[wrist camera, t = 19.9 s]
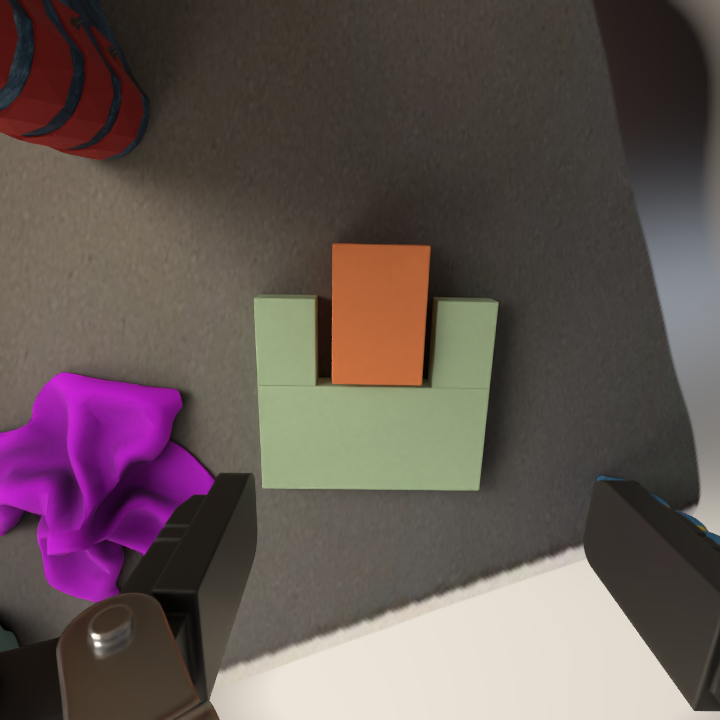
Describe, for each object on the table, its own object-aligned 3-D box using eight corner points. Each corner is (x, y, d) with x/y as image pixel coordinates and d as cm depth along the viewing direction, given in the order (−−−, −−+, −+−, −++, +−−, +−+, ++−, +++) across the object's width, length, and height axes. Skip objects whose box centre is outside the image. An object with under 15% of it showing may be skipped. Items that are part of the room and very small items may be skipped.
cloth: (145, 330, 31) (95, 352, 25) (271, 533, 35) (255, 592, 29) (-105, 455, 33) (-205, 502, 27) (44, 629, 38) (-14, 702, 32)
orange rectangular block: (423, 245, 29) (430, 245, 27) (416, 372, 32) (422, 385, 29) (334, 242, 29) (332, 243, 26) (333, 370, 32) (331, 384, 29)
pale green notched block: (489, 297, 30) (498, 302, 28) (472, 476, 34) (479, 490, 32) (259, 293, 30) (253, 297, 28) (267, 474, 34) (262, 488, 32)
